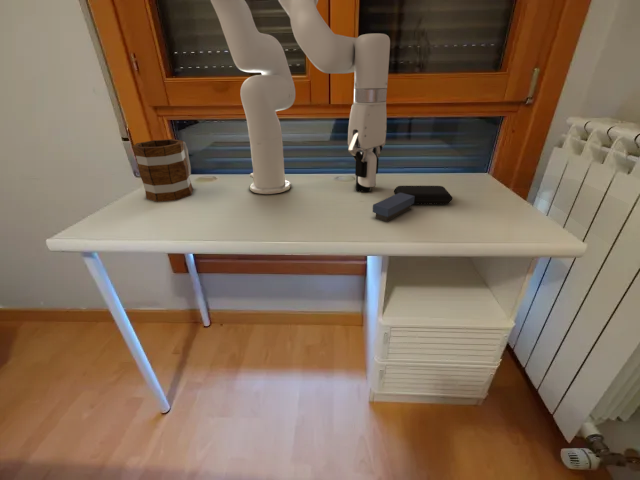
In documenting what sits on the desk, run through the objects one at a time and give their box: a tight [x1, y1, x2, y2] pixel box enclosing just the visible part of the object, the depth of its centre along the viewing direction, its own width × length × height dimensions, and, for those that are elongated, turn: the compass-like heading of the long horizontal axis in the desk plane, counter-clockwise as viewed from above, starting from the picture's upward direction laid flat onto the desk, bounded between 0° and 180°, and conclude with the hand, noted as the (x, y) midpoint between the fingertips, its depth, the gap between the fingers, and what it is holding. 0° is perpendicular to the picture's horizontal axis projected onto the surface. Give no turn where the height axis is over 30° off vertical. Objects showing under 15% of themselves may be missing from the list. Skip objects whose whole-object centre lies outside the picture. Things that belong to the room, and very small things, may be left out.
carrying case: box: [393, 185, 454, 205], centre depth 89 cm, size 11×3×15 cm
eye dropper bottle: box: [358, 148, 377, 188], centre depth 81 cm, size 4×6×12 cm
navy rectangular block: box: [372, 193, 415, 223], centre depth 80 cm, size 12×4×4 cm, turn 136°
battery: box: [355, 175, 372, 193], centre depth 96 cm, size 4×7×10 cm, turn 173°
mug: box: [131, 138, 194, 203], centre depth 96 cm, size 20×14×15 cm
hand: (366, 173), depth 82 cm, fingers closed on eye dropper bottle, 4 cm apart
